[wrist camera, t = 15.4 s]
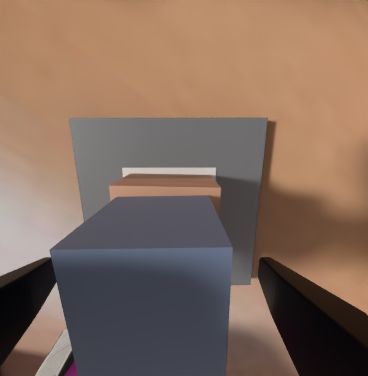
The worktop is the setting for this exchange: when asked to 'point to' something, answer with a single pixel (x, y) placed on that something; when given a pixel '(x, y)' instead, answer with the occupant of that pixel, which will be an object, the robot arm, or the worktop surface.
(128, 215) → the blue cube
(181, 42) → the worktop surface
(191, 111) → the worktop surface
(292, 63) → the worktop surface
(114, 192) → the terracotta block
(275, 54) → the worktop surface
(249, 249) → the board
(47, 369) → the candy bar box
